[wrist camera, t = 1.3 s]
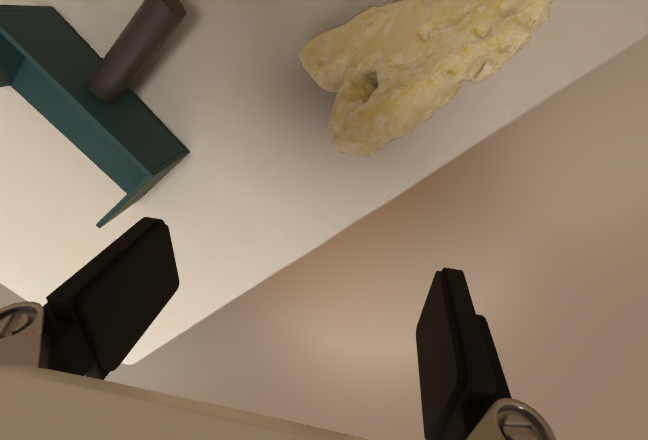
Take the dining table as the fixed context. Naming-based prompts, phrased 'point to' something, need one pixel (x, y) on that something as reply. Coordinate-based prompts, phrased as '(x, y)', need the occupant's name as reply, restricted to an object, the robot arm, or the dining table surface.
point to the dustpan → (95, 90)
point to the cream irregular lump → (412, 62)
